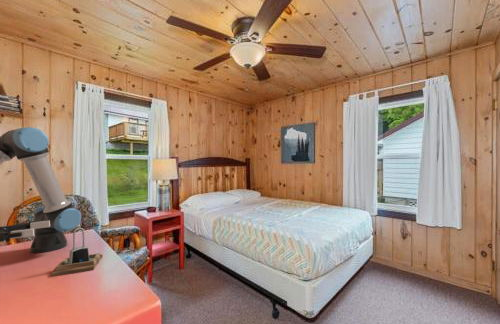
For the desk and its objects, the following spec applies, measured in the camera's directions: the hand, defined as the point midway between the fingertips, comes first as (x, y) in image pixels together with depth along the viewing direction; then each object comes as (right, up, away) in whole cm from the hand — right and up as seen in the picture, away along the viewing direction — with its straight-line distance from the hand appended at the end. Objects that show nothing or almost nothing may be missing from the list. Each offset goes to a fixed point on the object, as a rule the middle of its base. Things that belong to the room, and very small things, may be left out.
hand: (42, 227), depth 94 cm
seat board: (+12, -18, +5) cm, 22 cm away
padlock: (+12, -17, +5) cm, 21 cm away
